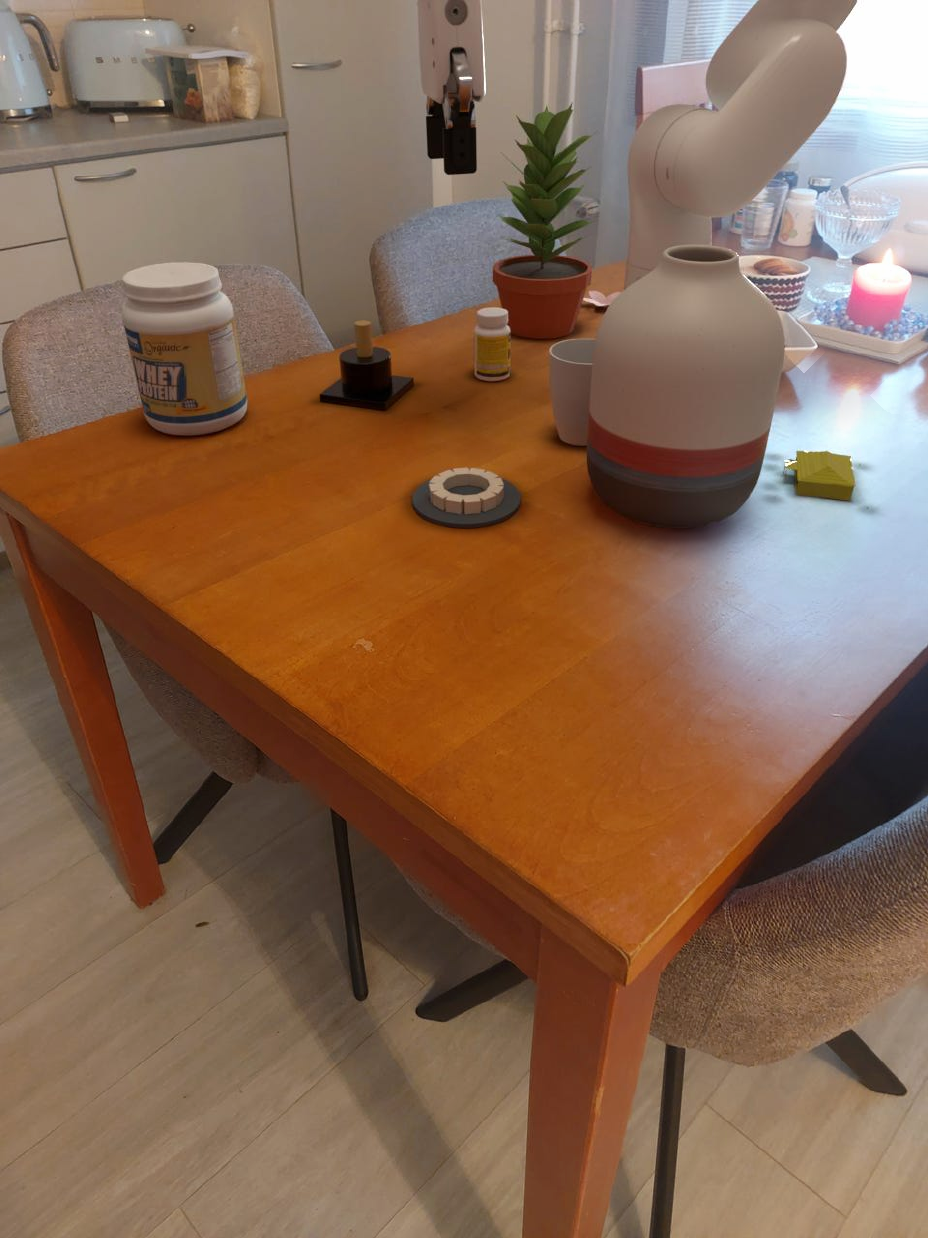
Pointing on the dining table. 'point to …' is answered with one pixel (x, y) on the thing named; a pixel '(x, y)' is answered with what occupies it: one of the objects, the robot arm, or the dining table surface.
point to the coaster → (444, 518)
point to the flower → (601, 298)
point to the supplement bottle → (492, 344)
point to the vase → (684, 391)
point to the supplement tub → (184, 348)
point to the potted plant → (544, 237)
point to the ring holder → (366, 375)
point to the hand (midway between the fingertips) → (451, 165)
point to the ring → (466, 502)
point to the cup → (571, 388)
